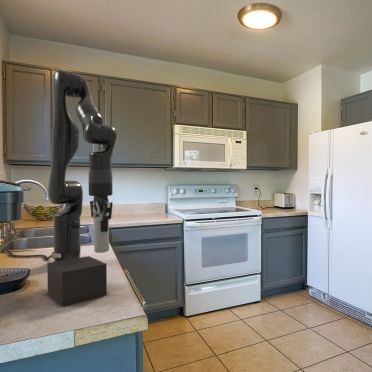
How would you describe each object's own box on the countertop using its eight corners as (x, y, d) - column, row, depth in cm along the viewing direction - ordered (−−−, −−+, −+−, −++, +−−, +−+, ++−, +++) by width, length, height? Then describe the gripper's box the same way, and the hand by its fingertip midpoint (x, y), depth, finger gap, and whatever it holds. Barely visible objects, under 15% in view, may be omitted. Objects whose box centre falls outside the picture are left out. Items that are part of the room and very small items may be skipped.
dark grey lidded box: (47, 293, 92) (47, 262, 92) (89, 284, 101) (89, 256, 101) (62, 306, 83) (61, 272, 83) (106, 294, 91) (106, 263, 91)
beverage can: (111, 249, 112) (111, 216, 112) (105, 253, 107) (105, 218, 107) (97, 250, 112) (97, 216, 112) (91, 253, 107) (91, 218, 107)
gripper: (120, 182, 107) (120, 231, 107) (103, 181, 117) (103, 227, 117) (97, 182, 101) (98, 234, 102) (81, 182, 111) (82, 229, 112)
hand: (101, 230), depth 109 cm, fingers closed on beverage can, 5 cm apart
